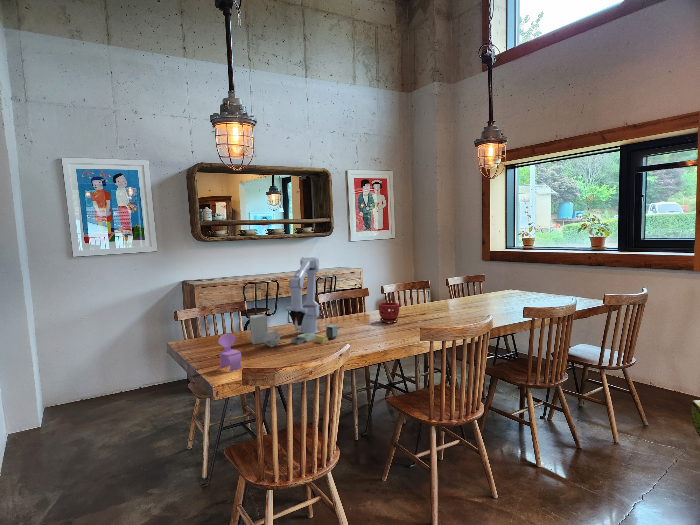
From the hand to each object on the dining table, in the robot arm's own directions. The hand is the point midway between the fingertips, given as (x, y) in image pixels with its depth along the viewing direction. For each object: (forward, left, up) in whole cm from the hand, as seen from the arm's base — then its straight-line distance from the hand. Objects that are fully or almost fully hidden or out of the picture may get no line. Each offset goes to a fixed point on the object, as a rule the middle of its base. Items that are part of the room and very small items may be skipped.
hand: (297, 325), depth 224 cm
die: (-7, -12, -10) cm, 17 cm away
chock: (+10, +8, -10) cm, 16 cm away
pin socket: (0, 0, -9) cm, 9 cm away
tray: (0, +7, -9) cm, 12 cm away
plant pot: (+15, +68, -10) cm, 70 cm away
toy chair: (+5, -47, -10) cm, 49 cm away
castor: (+10, +16, -9) cm, 21 cm away
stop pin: (0, 0, -3) cm, 3 cm away
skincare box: (-18, -11, -10) cm, 23 cm away
